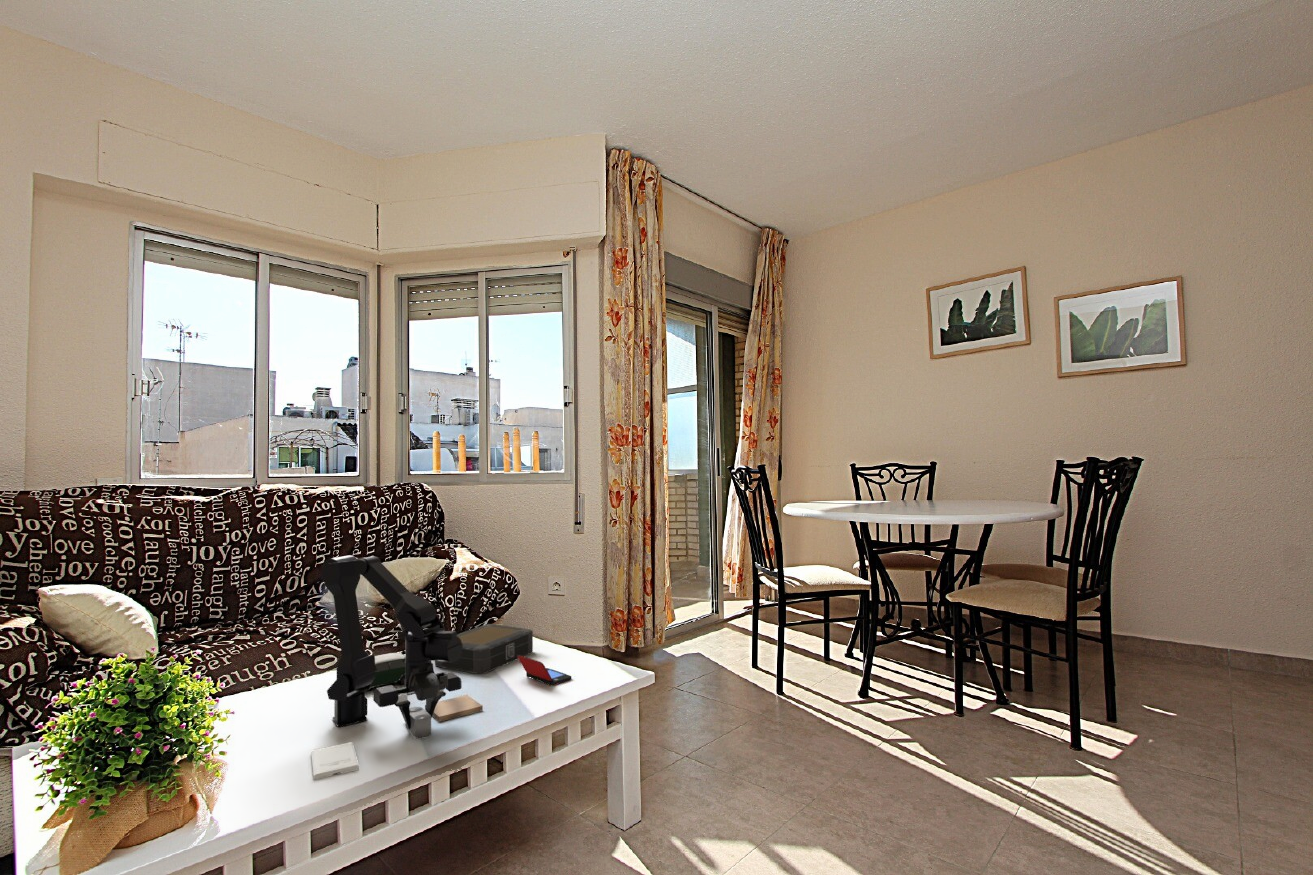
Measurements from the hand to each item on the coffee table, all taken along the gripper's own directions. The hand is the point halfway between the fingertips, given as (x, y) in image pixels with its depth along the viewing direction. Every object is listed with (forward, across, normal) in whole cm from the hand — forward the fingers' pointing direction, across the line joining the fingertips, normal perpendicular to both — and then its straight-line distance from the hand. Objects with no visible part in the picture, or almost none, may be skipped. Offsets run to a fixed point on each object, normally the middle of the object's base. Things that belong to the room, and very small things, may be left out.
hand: (418, 726), depth 153 cm
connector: (+1, 0, +1) cm, 2 cm away
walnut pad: (+1, +11, +7) cm, 13 cm away
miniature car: (+2, +2, +39) cm, 39 cm away
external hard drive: (+2, -19, -5) cm, 20 cm away
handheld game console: (+2, +40, +13) cm, 42 cm away
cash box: (+2, +35, +42) cm, 55 cm away
